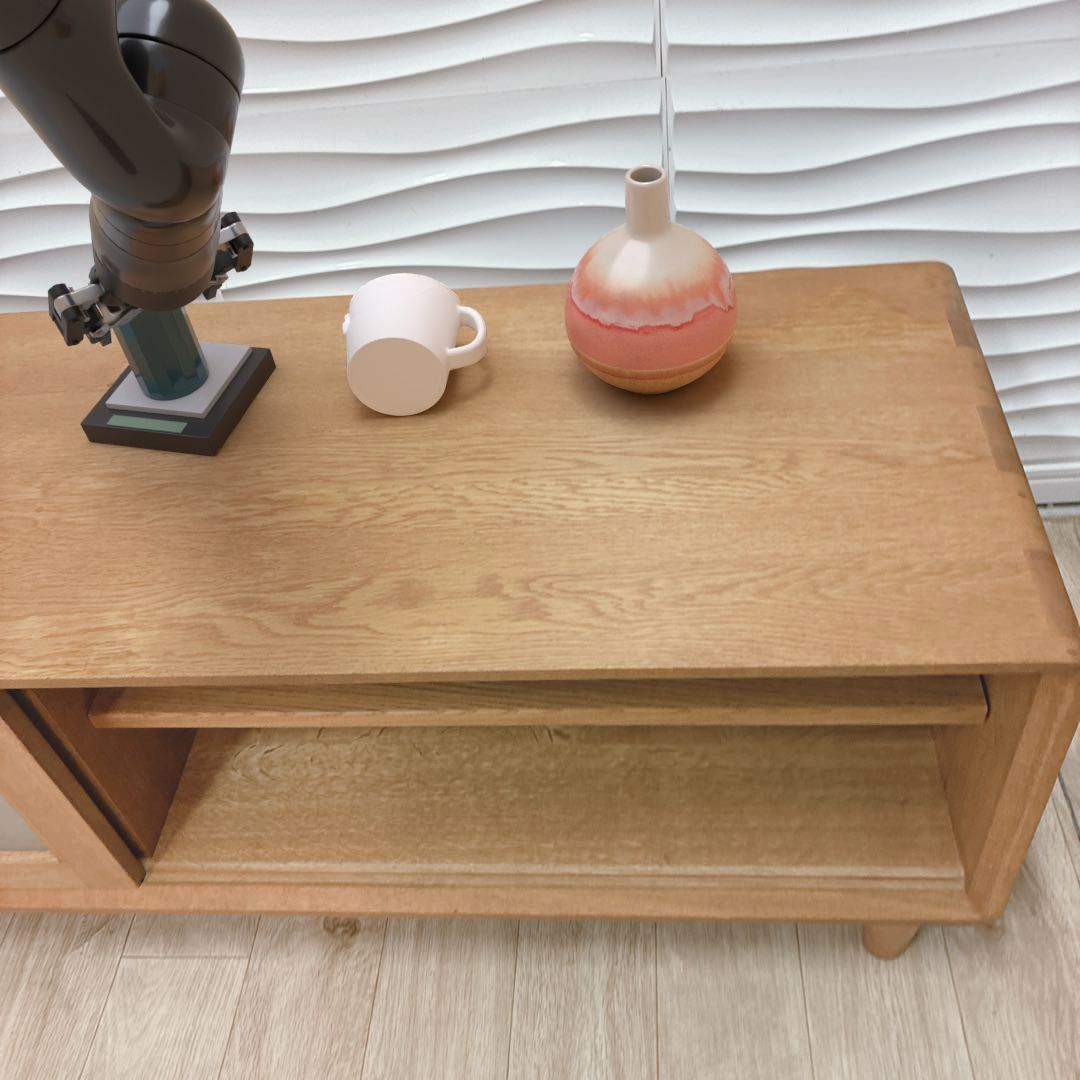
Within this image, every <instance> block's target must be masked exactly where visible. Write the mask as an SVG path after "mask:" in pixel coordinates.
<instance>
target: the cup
mask: <svg viewBox="0 0 1080 1080" xmlns="http://www.w3.org/2000/svg"><path fill="white" fill-rule="evenodd" d="M95 272H96V268H95V264H94V265H92V266H91V267H90V270H89V273H88V279H89V280H90V279H91V277H92V275H93V274H94V273H95ZM121 307H122V309H124V308H125V307H126V306H121ZM111 329H112V331H113V333H114V335H115V338H116V340H117V341H118V343H119V345H120V348H121V350H122V352H123V354H124V357H125V358H126V361H127V363H128V365H130V367H131V369H132V372H133V374H134V376H135V378H136V380H137V382H138V384H139V386H140V388H141V390H142V392H143V394H144V395H145V396H147V397H148V398H151V399H154V400H161V401H166V400H174V399H178V398H181V397H184V396H187V395H189V394H191V393H193V392H194V391H196V390H197V389H199V388H200V387H201V386H202V385H203V384H204V383H205V381H206V380H207V378H208V375H209V368H208V365H207V361H206V359H205V356H204V354H203V351H202V349H201V346H200V344H199V341H200V340H199V339H198V337H197V335H196V331H195V329H194V327H193V324H192V322H191V319H190V317H189V315H188V312H187V310H186V305H185V306H183V307H181V308H178V309H174V310H169V311H149V310H143V311H142V312H141V313H140V314H139V315H137V316H136V317H135V318H134V319H133V320H132V321H130V322H129V323H128V324H126V325H121V326H116V327H112V328H111Z"/></svg>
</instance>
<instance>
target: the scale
mask: <svg viewBox="0 0 1080 1080" xmlns="http://www.w3.org/2000/svg"><path fill="white" fill-rule="evenodd" d="M198 341H199V344H200V346H201V349H202V351H203V354H204V356H205V359H206V361H207V365H208V368H209V375H208V378H207V380H206V381H205V383H204V384H203V385H202V386H201V387H200V388H199V389H197V390H196V391H194V392H193V393H191V394H189V395H187V396H184V397H181V398H178V399H174V400H166V401H161V400H154V399H151V398H148V397H147V396H145V395H144V394H143V392H142V390H141V388H140V386H139V384H138V382H137V380H136V378H135V376H134V374H133V372H132V369H131V367H130V365H129V364H128V365H127V366H126V368H125V369H124V370H123V371H122V372H121V373H120V375H119V376H118V377H117V379H116V380H115V381H113V383H112V384H111V386H110V387H109V388H108V389H107V390H106V391H105V393H104V394H103V396H101V398H100V399H99V400H98V401H97V402H96V404H95V405H94V406H93V407H92V409H91V410H90V411H89V412H88V414H87V415H86V416H85V417H84V418H83V420H82V421H81V422H80V427H81V428H82V430H83V432H84V434H85V435H86V438H87V440H88V442H91V443H97V444H98V443H100V444H107V445H108V444H109V445H116V446H125V447H131V448H132V447H133V448H142V449H151V450H159V451H167V452H176V453H177V452H178V453H184V454H185V453H186V454H194V455H201V456H202V455H203V456H209V457H216V456H217V454H218V453H219V451H220V449H222V447H223V446H224V444H225V442H226V441H227V439H228V438H229V436H230V435H231V433H232V432H233V430H234V429H235V427H236V426H237V425H238V423H239V422H240V420H241V419H242V417H243V416H244V414H245V413H246V411H247V410H248V409H249V407H250V406H251V404H252V403H253V401H254V400H255V398H256V397H257V395H258V394H259V392H260V391H261V390H262V388H263V387H264V385H265V384H266V382H267V380H268V379H269V378H270V376H271V374H272V373H273V372H274V371H275V369H276V367H277V365H276V362H275V360H274V356H273V353H272V351H271V348H268V347H259V346H258V347H257V346H252V345H248V344H239V343H238V344H237V343H236V344H235V343H225V342H214V341H204V340H198Z"/></svg>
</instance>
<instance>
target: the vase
mask: <svg viewBox="0 0 1080 1080" xmlns="http://www.w3.org/2000/svg"><path fill="white" fill-rule="evenodd" d="M668 178H669V177H668V171H667V170H666V169H665V168H664V167H663V166H661V165H657V164H652V163H651V164H650V163H643V164H638V165H635V166H633V167H631V168H630V169H628V170H627V171H626V173H625V176H624V204H625V205H624V206H625V207H624V208H625V209H624V210H625V223H622V224H620V225H619V226H616V227H615V228H613V229H611V230H610V231H609V232H607V233H605V234H604V235H602V237H599V239H598V240H597V241H596V242H594V244H592V246H590V247H589V248H588V249H587V251H586V252H585V253H584V254H583V256H582V257H581V259H580V260H579V261H578V263H577V264H576V267H575V268H574V270H573V272H572V275H571V278H570V280H569V282H568V286H567V290H566V295H565V301H564V323H565V324H564V325H565V331H566V335H567V338H568V342H569V343H570V346H571V348H572V350H573V352H574V354H575V355H576V357H577V358H578V359H579V361H580V362H581V363H582V364H583V365H584V367H586V368H587V369H588V370H589V372H591V373H592V374H593V375H595V376H596V377H597V378H599V379H601V380H602V381H603V382H605V383H607V384H609V385H612V386H614V387H616V388H619V389H623V390H625V391H628V392H631V393H635V394H639V395H640V394H641V395H657V394H658V395H659V394H665V393H668V392H672V391H675V390H677V389H679V388H681V387H684V386H686V385H688V384H691V383H693V382H694V381H696V380H698V379H699V378H701V377H703V376H704V375H705V374H706V373H707V372H709V371H710V370H711V369H712V368H713V367H715V365H716V364H717V363H718V362H719V361H720V360H721V358H723V356H724V355H725V353H726V351H727V350H728V348H729V346H730V344H731V342H732V339H733V338H734V333H735V329H736V326H737V322H738V321H737V320H738V297H737V291H736V287H735V284H734V281H733V276H732V274H731V271H730V269H729V267H728V266H727V263H726V262H725V260H724V258H723V257H722V256H721V254H720V252H718V250H716V248H715V247H714V246H713V245H712V244H711V243H710V242H709V241H708V240H707V239H705V238H704V237H703V236H701V235H700V234H699V233H697V232H696V231H695V230H692V229H691V228H689V227H687V226H684V225H683V224H681V223H678V222H676V221H673V220H671V219H670V199H669V194H670V193H669V179H668Z"/></svg>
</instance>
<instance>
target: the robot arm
mask: <svg viewBox="0 0 1080 1080" xmlns="http://www.w3.org/2000/svg"><path fill="white" fill-rule="evenodd" d="M245 78H246V60H245V56H244V51H243V48H242V44H241V42H240V39H239V38H238V36H237V33H236V32H235V30H234V29H233V27H232V25H231V24H230V22H229V21H228V20H227V19H226V17H225V16H224V15H223V14H222V13H221V12H220V11H219V10H218V8H216V7H215V6H214V5H213V4H212V3H210V2H209V1H208V0H0V91H1V92H2V94H3V95H4V96H5V97H6V99H7V100H8V101H9V102H10V103H11V104H12V105H13V107H14V108H15V109H16V110H17V112H19V114H20V115H21V117H23V118H24V120H25V121H26V122H27V124H28V125H29V127H31V129H32V130H33V131H34V132H35V134H36V135H37V136H38V137H39V139H40V140H41V141H42V142H43V144H44V145H45V146H46V147H47V149H48V150H49V152H51V153H52V154H53V156H54V157H55V158H56V159H57V161H58V162H59V163H60V164H61V165H62V166H63V167H64V169H65V170H66V171H68V173H69V174H70V175H71V176H72V177H73V178H74V179H75V180H76V181H77V182H78V183H79V184H80V185H81V186H83V187H84V188H85V190H87V191H89V192H90V199H89V205H88V220H89V229H90V239H91V247H92V257H93V262H94V265H95V268H96V272H95V273H94V274H93V275H92V277H91V279H89V282H88V283H87V285H86V286H83V287H81V288H78V289H74V288H73V286H67V284H66V283H63V282H62V283H56V284H54V285H52V286H51V287H49V289H48V290H47V302H48V303H47V304H48V315H49V317H50V319H51V320H52V322H54V324H55V326H56V327H57V330H58V331H59V333H60V334H61V336H62V338H63V341H64V342H65V344H66V347H72V346H73V347H74V346H77V345H80V343H81V342H82V341H83V340H84V339H85V338H84V337H85V336H86V337H87V339H88V341H89V343H90V344H91V345H96V344H97V343H99V344H100V345H101V346H102V347H103V348H104V347H106V346H109V345H110V344H112V343H113V342H112V341H113V340H112V331H111V329H112V327H116V326H121V325H126V324H128V323H129V322H130V321H132V320H133V319H134V318H135V317H136V316H137V315H139V314H140V313H141V312H142V311H143V310H149V311H169V310H174V309H178V308H181V307H183V306H185V307H186V306H187V305H190V304H191V303H192V302H194V301H195V300H197V299H198V298H199V297H200V296H201V295H203V297H204V298H205V300H206V301H210V300H212V299H214V298H216V297H217V293H218V290H220V289H221V288H222V287H223V284H224V283H225V282H226V281H227V280H228V279H229V276H228V274H227V273H229V272H230V271H231V270H233V269H234V270H235V272H236V273H243V272H246V271H247V270H249V268H250V267H251V266H252V260H253V253H254V248H255V247H254V246H255V243H254V241H253V239H252V237H251V236H250V234H249V232H248V230H247V228H246V227H245V225H244V223H243V221H242V220H241V217H240V216H239V214H238V213H237V211H230V212H226V213H225V214H224V215H223V216H222V217H221V209H222V203H223V197H224V196H223V195H224V185H225V181H226V177H227V174H228V168H229V163H230V157H231V151H232V146H233V143H234V142H233V141H234V137H235V136H234V135H235V131H236V125H237V119H238V115H239V108H240V104H241V100H242V95H243V89H244V84H245ZM121 306H126V307H125V308H124V309H122V307H121Z"/></svg>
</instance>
